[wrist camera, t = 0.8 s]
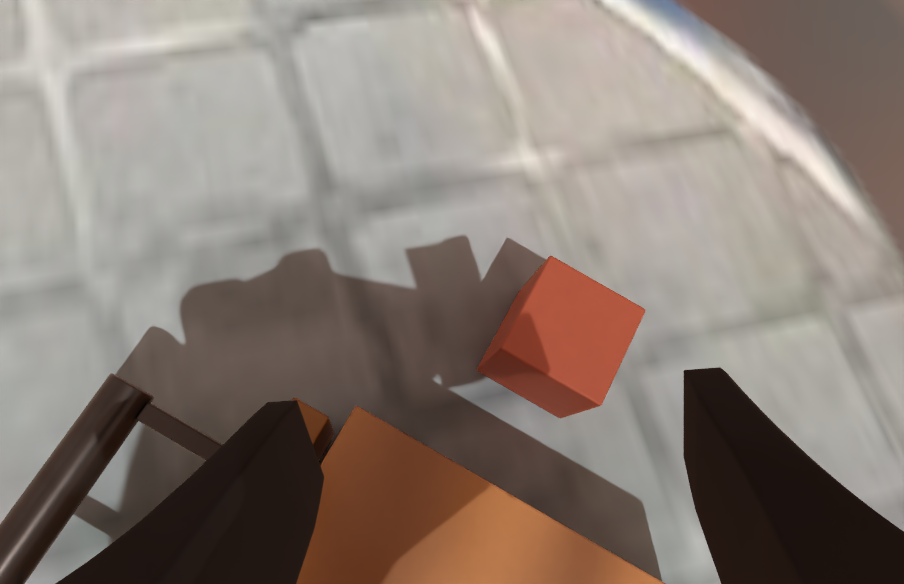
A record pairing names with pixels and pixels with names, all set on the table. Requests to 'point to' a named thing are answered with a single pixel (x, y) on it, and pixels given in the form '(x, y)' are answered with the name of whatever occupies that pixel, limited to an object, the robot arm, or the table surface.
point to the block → (562, 340)
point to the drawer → (99, 468)
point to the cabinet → (436, 522)
